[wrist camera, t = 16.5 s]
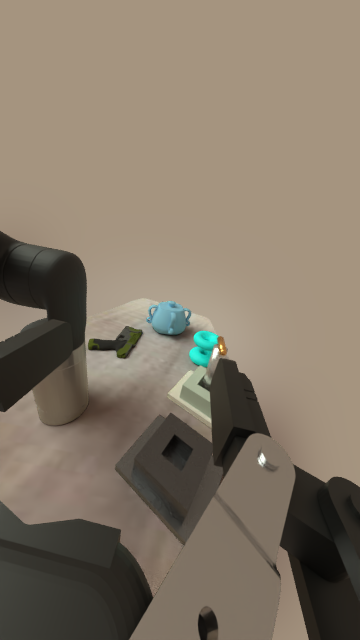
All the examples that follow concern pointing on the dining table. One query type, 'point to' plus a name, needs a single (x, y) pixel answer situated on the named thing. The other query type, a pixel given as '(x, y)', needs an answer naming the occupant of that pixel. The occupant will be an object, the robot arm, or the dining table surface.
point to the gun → (118, 342)
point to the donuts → (203, 347)
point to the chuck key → (214, 362)
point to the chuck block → (172, 473)
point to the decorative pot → (168, 318)
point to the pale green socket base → (193, 395)
